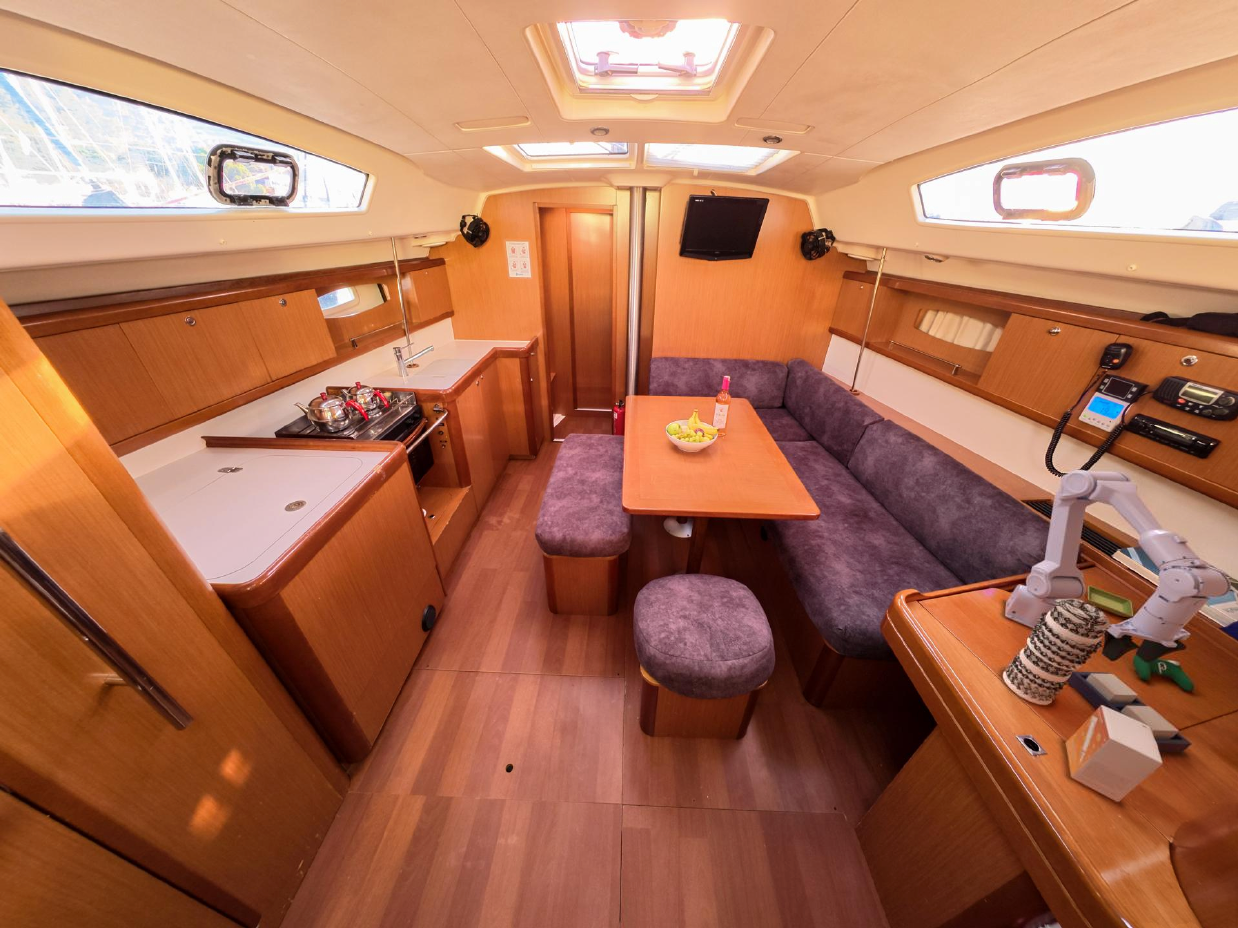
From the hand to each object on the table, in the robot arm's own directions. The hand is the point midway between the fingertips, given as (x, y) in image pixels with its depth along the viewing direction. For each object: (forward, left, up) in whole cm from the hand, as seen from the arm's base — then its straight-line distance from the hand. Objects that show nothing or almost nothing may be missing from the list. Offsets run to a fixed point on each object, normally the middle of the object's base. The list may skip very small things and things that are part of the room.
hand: (1124, 657), depth 89 cm
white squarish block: (0, -5, -8) cm, 10 cm away
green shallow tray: (+4, +37, -9) cm, 38 cm away
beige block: (+4, -11, -8) cm, 14 cm away
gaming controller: (+10, +12, -9) cm, 18 cm away
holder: (+2, -8, -9) cm, 12 cm away
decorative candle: (-13, -14, -9) cm, 21 cm away
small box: (-4, -29, -9) cm, 31 cm away
